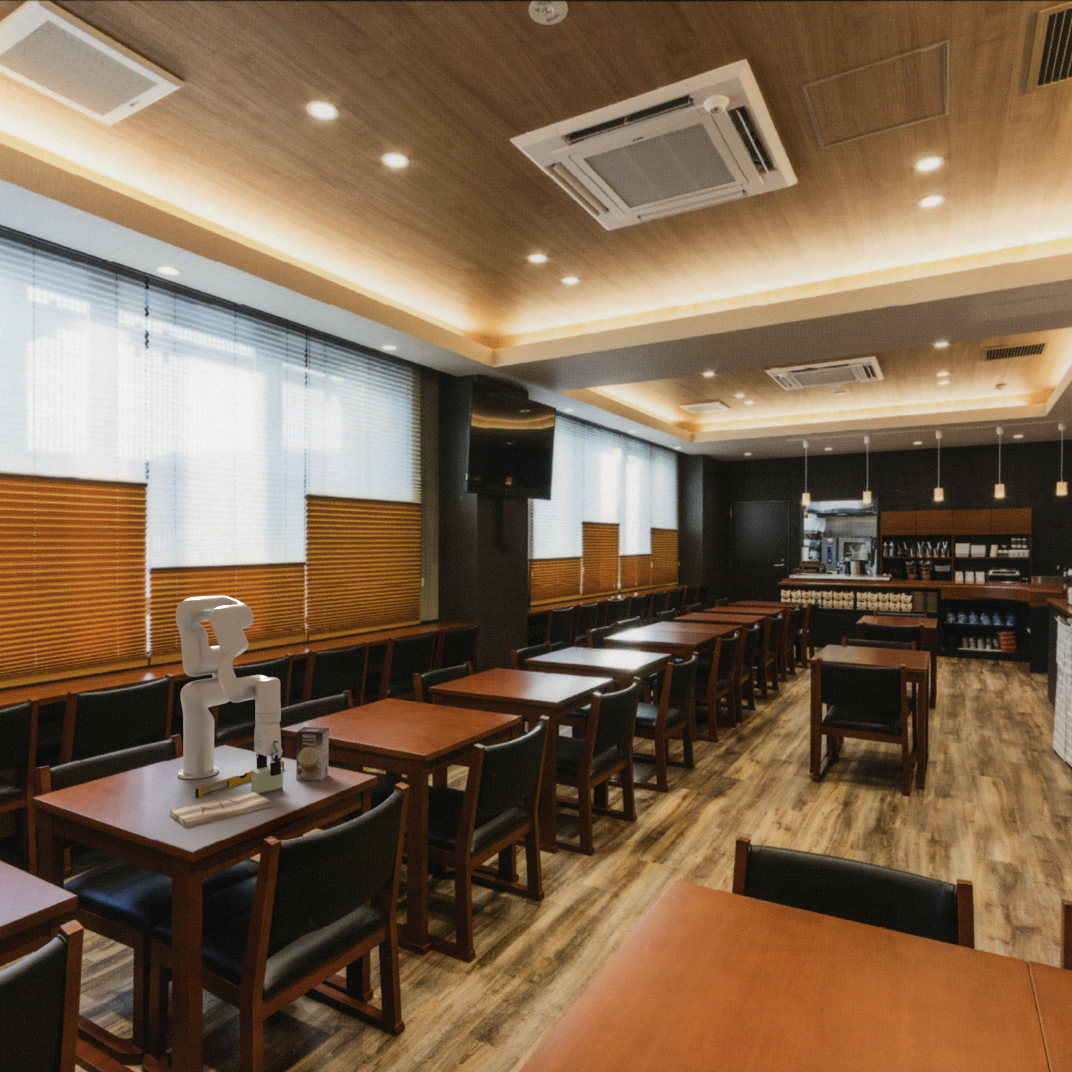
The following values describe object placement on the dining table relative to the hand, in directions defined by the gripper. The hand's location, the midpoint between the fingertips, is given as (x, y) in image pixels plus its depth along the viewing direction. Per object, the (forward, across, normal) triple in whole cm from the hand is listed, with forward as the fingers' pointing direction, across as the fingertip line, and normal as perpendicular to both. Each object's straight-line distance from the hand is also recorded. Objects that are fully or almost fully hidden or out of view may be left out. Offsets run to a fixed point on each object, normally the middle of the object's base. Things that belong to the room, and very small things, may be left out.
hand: (268, 772), depth 232 cm
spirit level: (+6, -15, -2) cm, 16 cm away
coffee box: (+6, -4, +17) cm, 18 cm away
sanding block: (+6, -1, 0) cm, 6 cm away
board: (+6, +7, -17) cm, 19 cm away
